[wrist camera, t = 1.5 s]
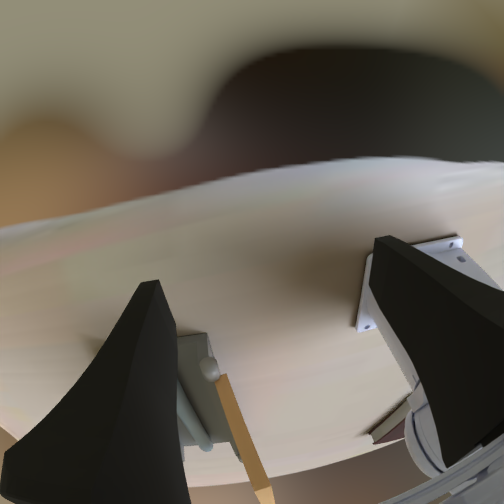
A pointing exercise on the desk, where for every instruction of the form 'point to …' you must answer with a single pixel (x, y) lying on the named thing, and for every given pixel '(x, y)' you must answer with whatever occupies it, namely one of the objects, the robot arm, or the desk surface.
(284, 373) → the desk surface
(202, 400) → the grey tray with rod
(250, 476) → the cover
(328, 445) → the desk surface
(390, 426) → the book
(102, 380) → the robot arm
